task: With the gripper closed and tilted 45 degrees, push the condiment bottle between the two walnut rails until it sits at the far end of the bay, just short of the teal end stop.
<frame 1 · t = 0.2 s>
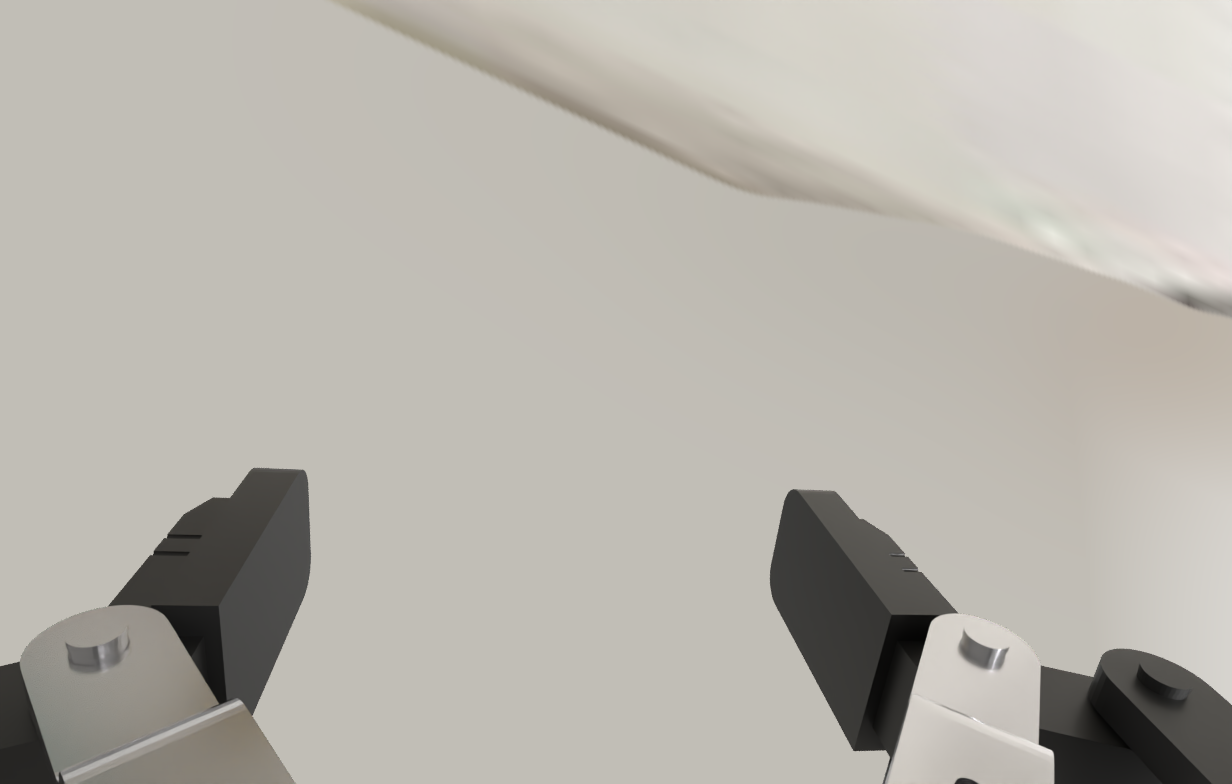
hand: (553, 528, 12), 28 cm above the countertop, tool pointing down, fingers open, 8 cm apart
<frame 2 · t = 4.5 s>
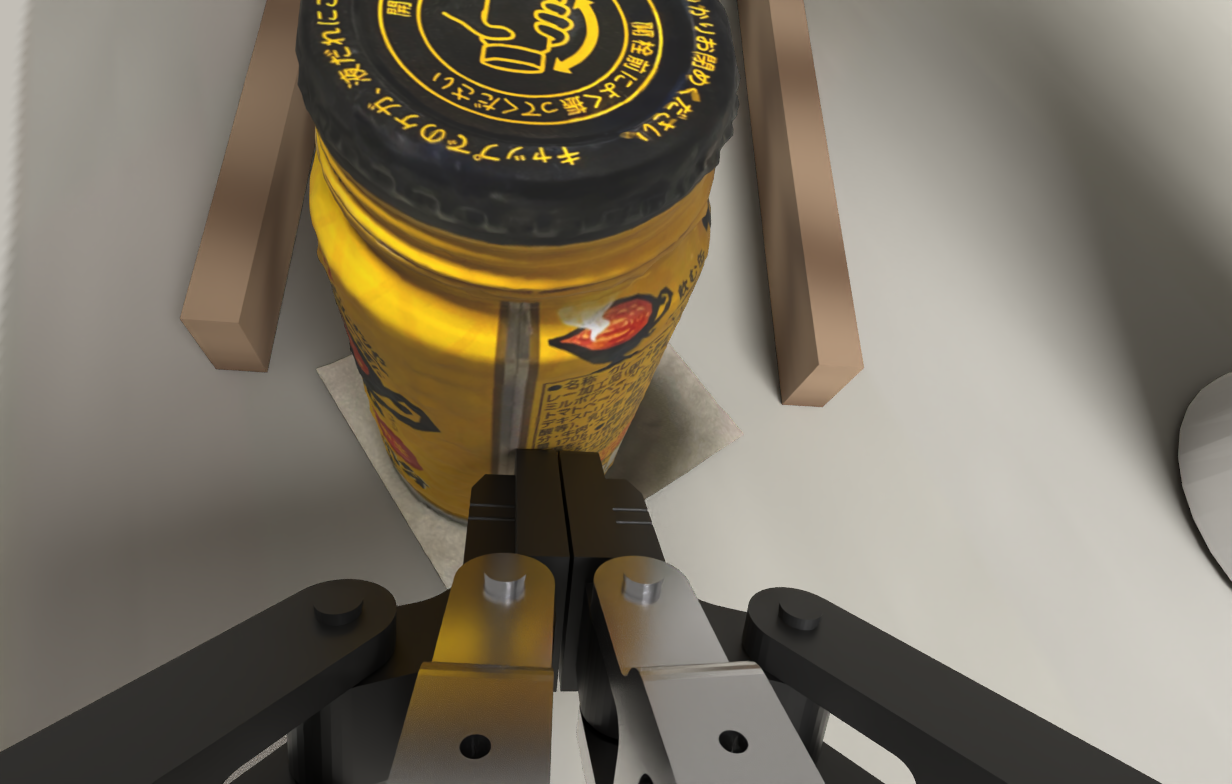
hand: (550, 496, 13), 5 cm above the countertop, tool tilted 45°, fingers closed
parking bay: (502, 95, 24), on the countertop
condiment: (534, 410, 20), on the countertop, touching gripper
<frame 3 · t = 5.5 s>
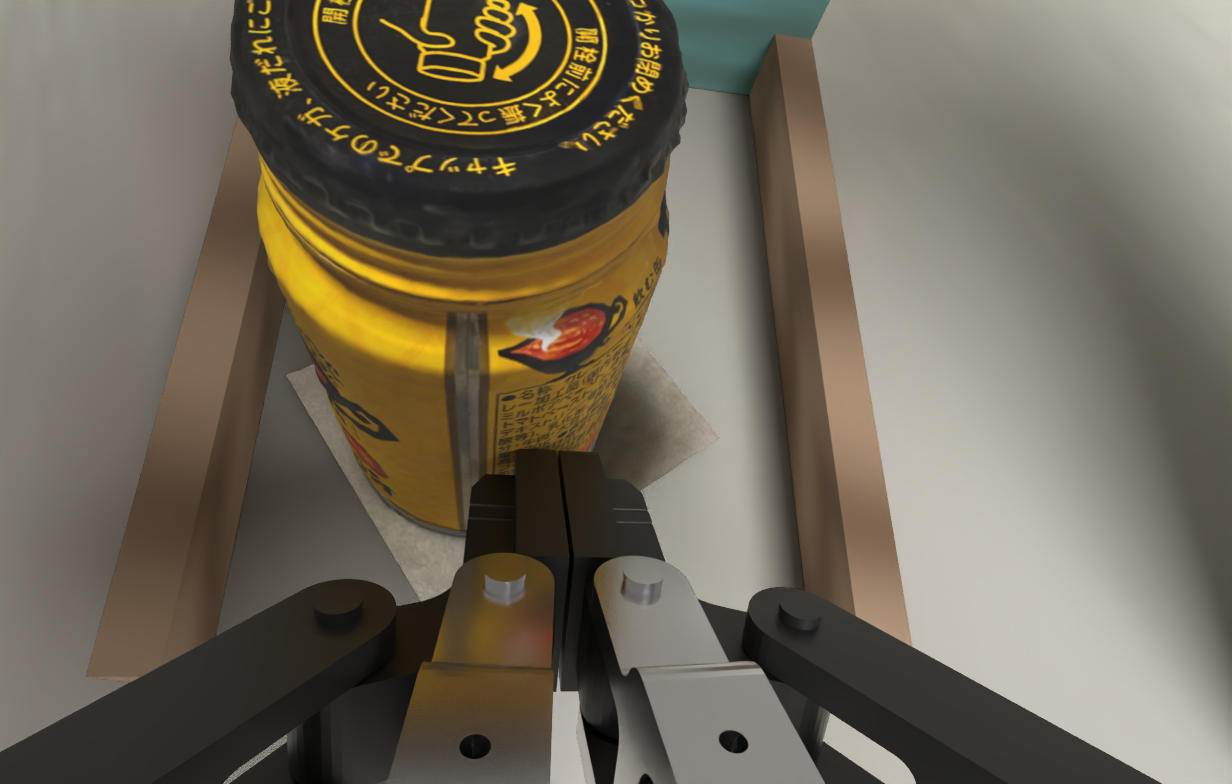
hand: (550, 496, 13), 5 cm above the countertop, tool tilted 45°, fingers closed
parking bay: (490, 290, 21), on the countertop
condiment: (508, 414, 19), on the countertop, touching gripper
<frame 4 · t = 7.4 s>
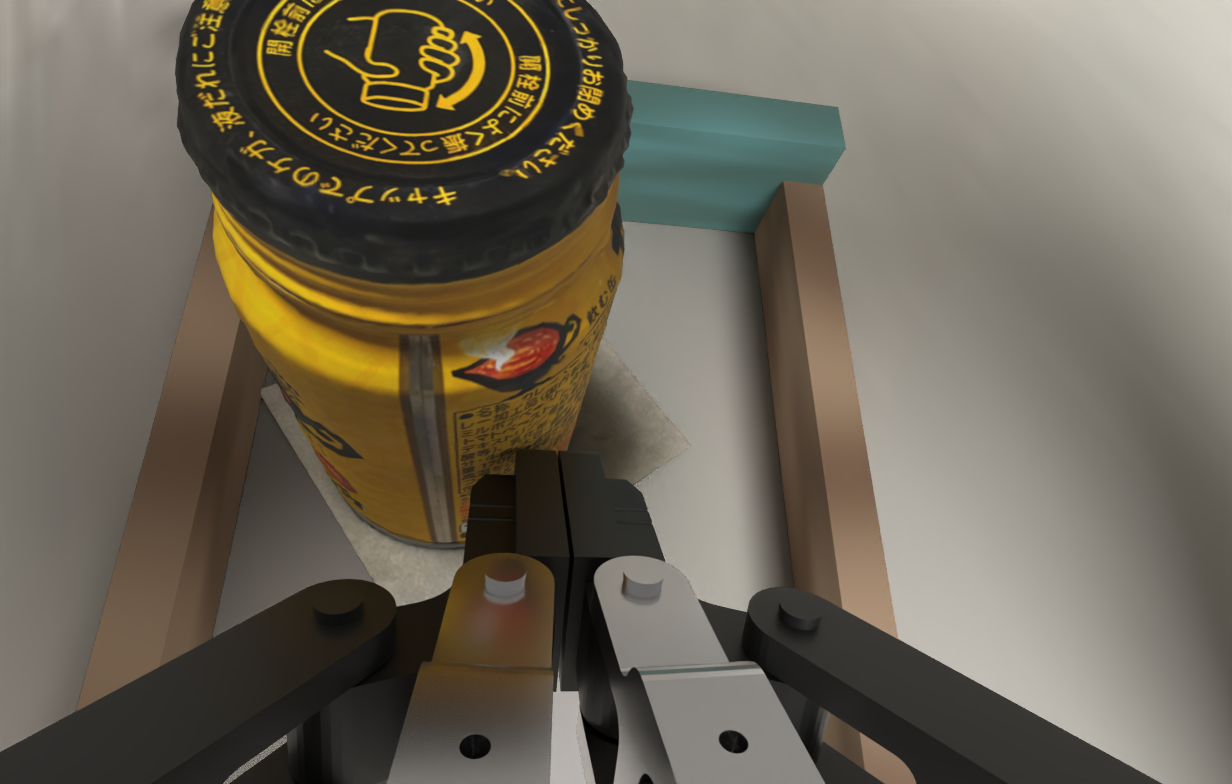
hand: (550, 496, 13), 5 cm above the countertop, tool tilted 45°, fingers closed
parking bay: (470, 487, 19), on the countertop
condiment: (481, 425, 20), on the countertop
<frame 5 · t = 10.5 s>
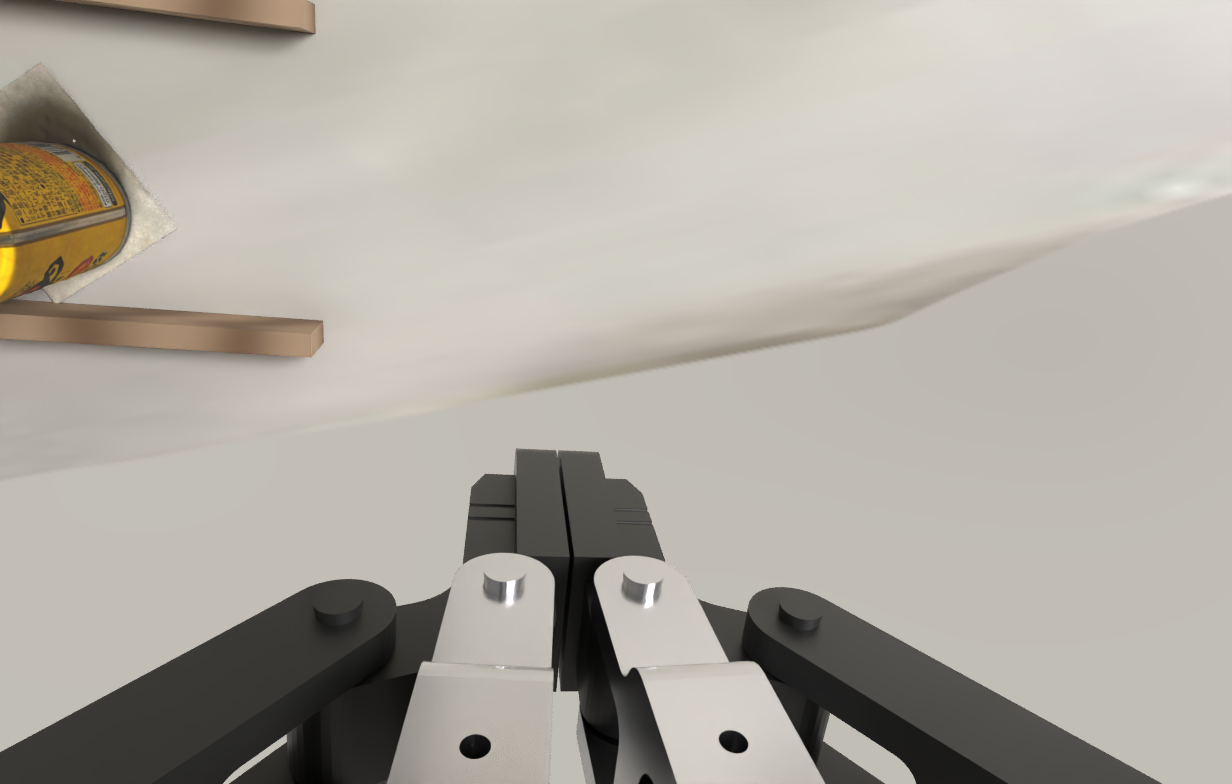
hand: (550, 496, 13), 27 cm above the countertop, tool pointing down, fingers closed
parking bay: (93, 197, 35), on the countertop
condiment: (54, 189, 35), on the countertop
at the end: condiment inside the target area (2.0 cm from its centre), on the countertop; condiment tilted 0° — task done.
